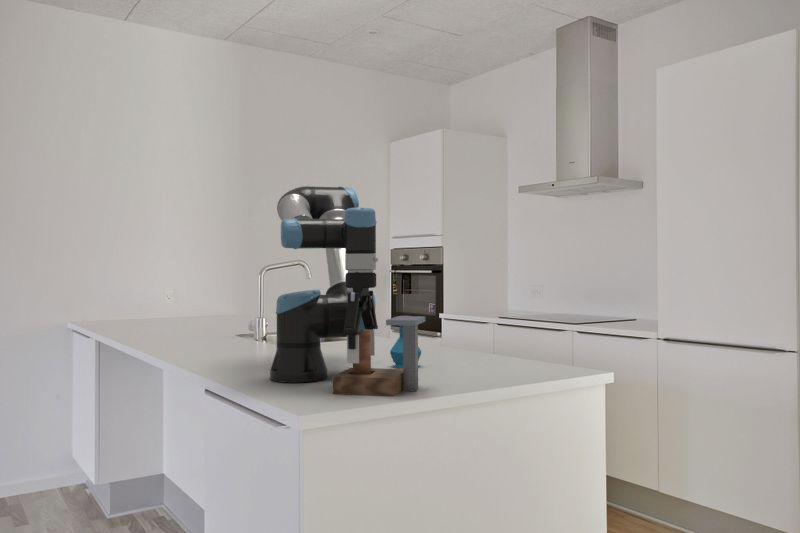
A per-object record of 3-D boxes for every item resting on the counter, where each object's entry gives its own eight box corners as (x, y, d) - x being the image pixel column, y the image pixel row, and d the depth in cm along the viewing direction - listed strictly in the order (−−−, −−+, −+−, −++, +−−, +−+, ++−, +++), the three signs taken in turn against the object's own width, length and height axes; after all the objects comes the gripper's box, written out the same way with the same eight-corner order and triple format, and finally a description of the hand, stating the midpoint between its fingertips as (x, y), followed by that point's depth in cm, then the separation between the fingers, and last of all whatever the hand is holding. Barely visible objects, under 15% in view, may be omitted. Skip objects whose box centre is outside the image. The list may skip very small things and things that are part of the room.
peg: (350, 390, 161) (350, 332, 161) (355, 387, 165) (355, 330, 165) (368, 391, 160) (367, 332, 160) (373, 387, 164) (372, 330, 164)
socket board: (332, 393, 157) (332, 376, 157) (350, 383, 170) (350, 367, 170) (394, 395, 153) (394, 378, 153) (408, 385, 167) (408, 369, 167)
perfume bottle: (402, 363, 205) (401, 314, 205) (427, 366, 199) (426, 315, 199) (384, 367, 197) (383, 316, 197) (409, 370, 192) (409, 317, 192)
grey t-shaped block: (386, 393, 156) (385, 320, 156) (398, 384, 168) (397, 316, 168) (416, 395, 154) (415, 320, 154) (425, 385, 166) (425, 316, 166)
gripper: (360, 272, 149) (361, 367, 149) (388, 271, 174) (388, 352, 174) (329, 272, 151) (329, 366, 151) (360, 271, 175) (361, 352, 175)
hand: (361, 359), depth 162 cm, fingers open, 13 cm apart
